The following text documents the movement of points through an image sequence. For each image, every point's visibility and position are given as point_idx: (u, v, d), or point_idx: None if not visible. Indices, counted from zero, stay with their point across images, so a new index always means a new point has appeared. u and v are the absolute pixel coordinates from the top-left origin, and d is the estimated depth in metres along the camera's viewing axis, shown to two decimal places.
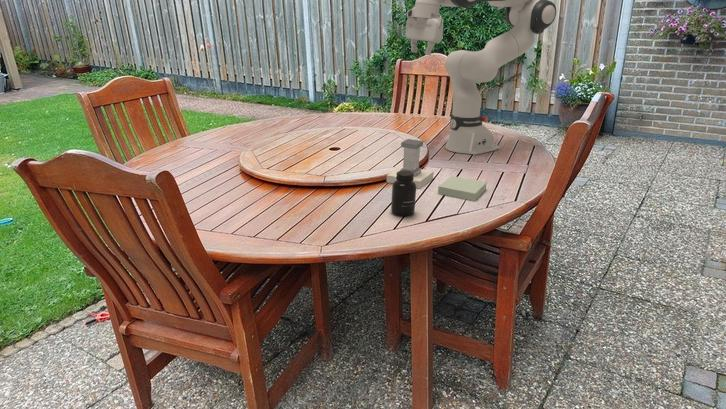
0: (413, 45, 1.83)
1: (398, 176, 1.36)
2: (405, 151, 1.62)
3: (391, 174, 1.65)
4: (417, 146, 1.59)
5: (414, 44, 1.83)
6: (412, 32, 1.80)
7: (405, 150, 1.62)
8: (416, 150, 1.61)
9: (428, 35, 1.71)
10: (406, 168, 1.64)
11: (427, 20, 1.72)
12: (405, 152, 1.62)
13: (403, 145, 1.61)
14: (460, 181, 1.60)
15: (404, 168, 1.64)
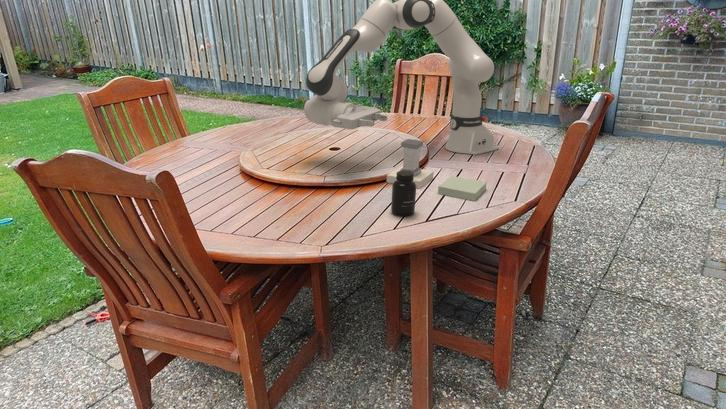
0: (380, 118, 1.71)
1: (398, 176, 1.36)
2: (405, 151, 1.62)
3: (391, 174, 1.65)
4: (417, 146, 1.59)
5: (380, 116, 1.71)
6: None
7: (405, 150, 1.62)
8: (416, 150, 1.61)
9: None
10: (406, 168, 1.64)
11: None
12: (405, 152, 1.62)
13: (403, 145, 1.61)
14: (460, 181, 1.60)
15: (404, 168, 1.64)
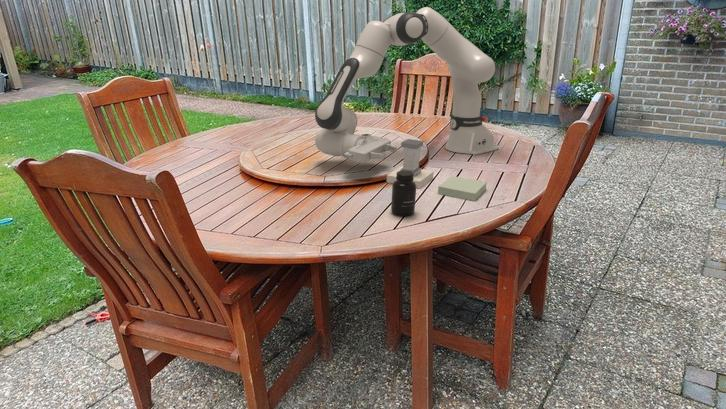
0: (391, 149, 1.73)
1: (398, 176, 1.36)
2: (405, 151, 1.62)
3: (391, 174, 1.65)
4: (417, 146, 1.59)
5: (390, 147, 1.73)
6: None
7: (405, 150, 1.62)
8: (416, 150, 1.61)
9: None
10: (406, 168, 1.64)
11: None
12: (405, 152, 1.62)
13: (403, 145, 1.61)
14: (460, 181, 1.60)
15: (404, 168, 1.64)
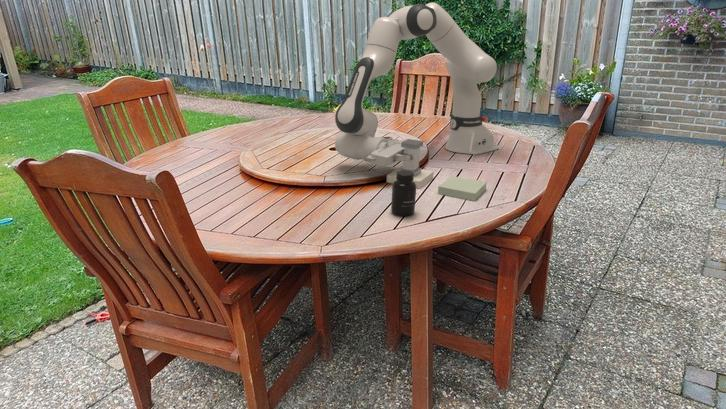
0: None
1: (398, 176, 1.36)
2: (405, 151, 1.62)
3: (391, 174, 1.65)
4: (417, 146, 1.59)
5: None
6: None
7: (405, 150, 1.62)
8: (416, 150, 1.61)
9: None
10: (406, 168, 1.64)
11: None
12: (405, 152, 1.62)
13: (403, 145, 1.61)
14: (460, 181, 1.60)
15: (404, 168, 1.64)
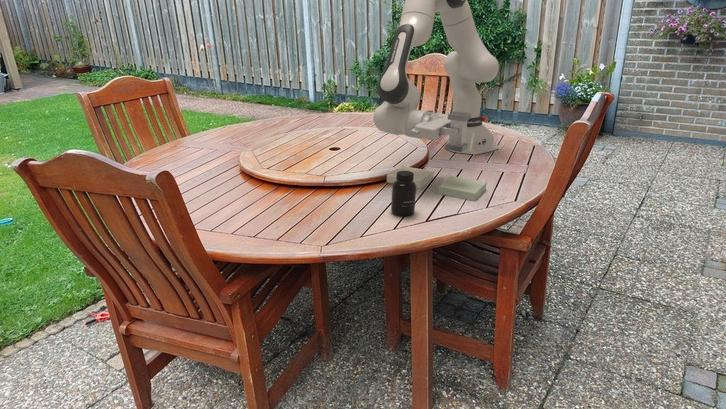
0: None
1: (398, 176, 1.36)
2: (452, 124, 1.50)
3: (391, 174, 1.65)
4: (465, 118, 1.47)
5: None
6: None
7: (452, 123, 1.50)
8: (464, 123, 1.49)
9: None
10: (452, 143, 1.52)
11: None
12: (452, 125, 1.50)
13: (450, 117, 1.49)
14: (460, 181, 1.60)
15: (450, 143, 1.52)
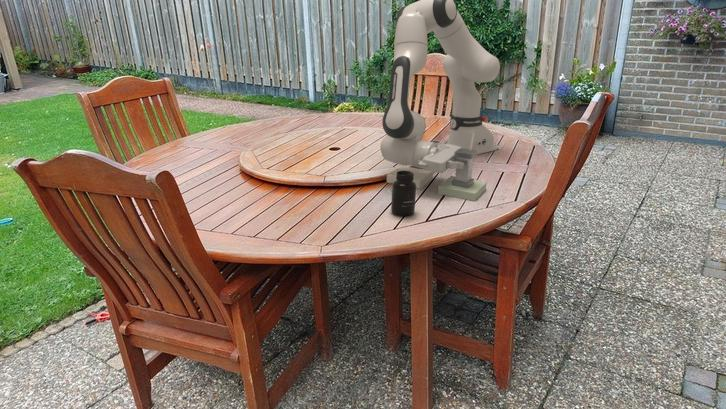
0: None
1: (398, 176, 1.36)
2: (458, 161, 1.53)
3: (391, 174, 1.65)
4: (472, 156, 1.50)
5: None
6: None
7: (458, 160, 1.53)
8: (470, 160, 1.52)
9: None
10: (459, 179, 1.55)
11: None
12: None
13: (457, 155, 1.52)
14: None
15: (456, 179, 1.55)
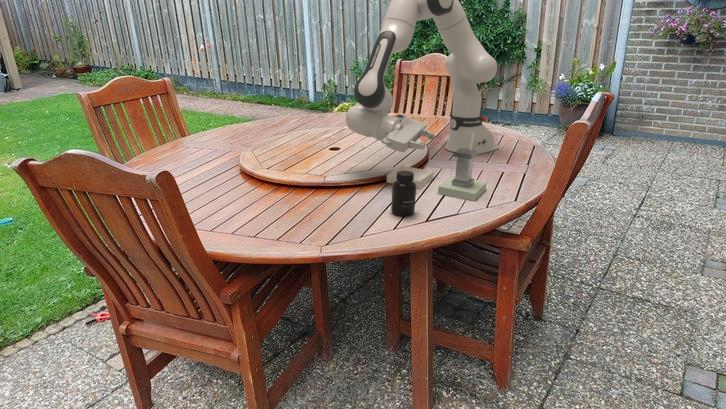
0: (427, 135, 1.64)
1: (398, 176, 1.36)
2: (458, 161, 1.53)
3: (391, 174, 1.65)
4: (472, 156, 1.50)
5: (426, 134, 1.64)
6: None
7: (458, 160, 1.53)
8: (470, 160, 1.52)
9: None
10: (459, 179, 1.55)
11: None
12: (458, 162, 1.53)
13: (457, 155, 1.52)
14: None
15: (456, 179, 1.55)
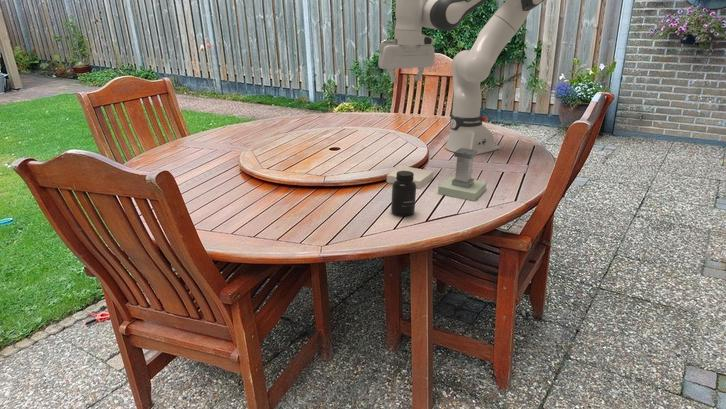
0: (418, 73, 1.69)
1: (398, 176, 1.36)
2: (458, 161, 1.53)
3: (391, 174, 1.65)
4: (472, 156, 1.50)
5: (419, 72, 1.68)
6: None
7: (458, 160, 1.53)
8: (470, 160, 1.52)
9: None
10: (459, 179, 1.55)
11: None
12: (458, 162, 1.53)
13: (457, 155, 1.52)
14: None
15: (456, 179, 1.55)
